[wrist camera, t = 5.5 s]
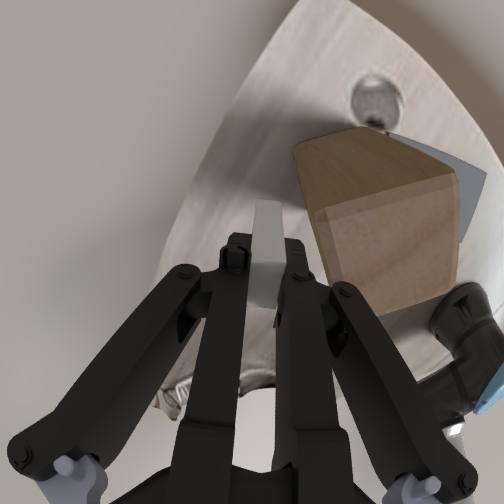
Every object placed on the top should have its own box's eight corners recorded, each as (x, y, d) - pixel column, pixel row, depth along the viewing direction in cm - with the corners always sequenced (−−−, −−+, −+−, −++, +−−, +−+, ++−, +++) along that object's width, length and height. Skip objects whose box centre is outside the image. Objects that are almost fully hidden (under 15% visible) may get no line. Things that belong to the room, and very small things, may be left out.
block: (382, 195, 33) (458, 294, 16) (313, 215, 35) (340, 332, 18) (365, 123, 28) (464, 167, 11) (289, 144, 31) (305, 210, 14)
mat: (485, 172, 29) (487, 173, 28) (460, 241, 36) (461, 242, 35) (388, 132, 28) (389, 132, 28) (364, 221, 35) (365, 223, 35)
